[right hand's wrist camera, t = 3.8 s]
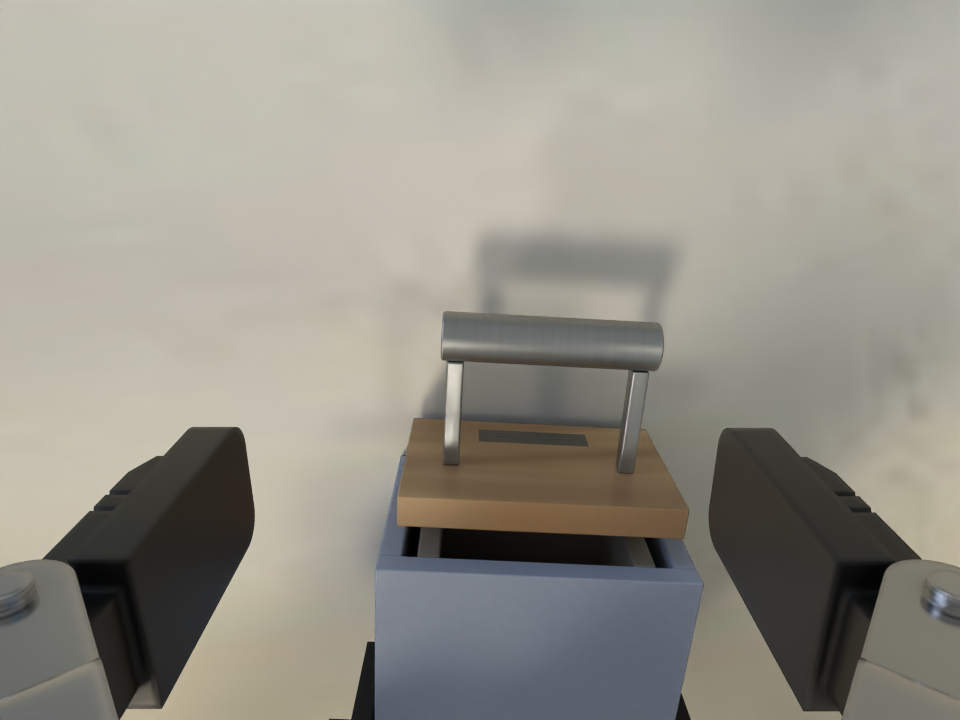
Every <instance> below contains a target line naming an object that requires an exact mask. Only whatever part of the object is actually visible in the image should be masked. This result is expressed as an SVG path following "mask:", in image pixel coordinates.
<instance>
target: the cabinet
mask: <svg viewBox="0 0 960 720" xmlns="http://www.w3.org/2000/svg"><path fill="white" fill-rule="evenodd" d="M405 458H406V456H401V458H400V463H399V467H398V472H397V476H396V481H395V485H394V490H393V494H392V498H391V503H390V507H389V512H388V516H387V521H386V525H385V529H384V534H383V538H382V543H381V547H380V552H379V557H378V560H377V565H376V569H375V720H675V718H676V714H677V709H678V704H679V699H680V695H681V690H682V685H683V680H684V676H685V671H686V666H687V661H688V657H689V652H690V647H691V642H692V638H693V633H694V628H695V623H696V619H697V614H698V609H699V604H700V600H701V595H702V590H703V585H704V584H703V582H702V580H701V578H700V576H699V574H698V572H697V570H696V568H695V566H694V564H693V562H692V560H691V558H690V556H689V554H688V552H687V550H686V547H685V545H684V543H683V541H682V539H670V538H648V537H644V539H645V541H646V544H647V546H648V549H649V551H650V554H651V556H652V559H653V561H654V564H655V567H656V568H648V567H626V566H604V565H581V564H559V563H537V562H514V561H492V560H470V559H448V558H425V557H417V553H418V546H419V539H420V531H421V527H409V526H397V495H398V491H399V486H400V481H401V476H402V472H403V467H404V462H405Z"/></svg>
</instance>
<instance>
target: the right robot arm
mask: <svg viewBox="0 0 960 720" xmlns="http://www.w3.org/2000/svg"><path fill="white" fill-rule="evenodd" d="M254 521H255V510H254V502H253V495H252V487H251V480H250V473H249V466H248V459H247V451H246V444H245V439H244V435H243V433H242V431H241V430H240V429H239V428H238V427H192V428H190V429H188V430H187V431H186V432H185V433H184V435H183V436H182V437H181V438H180V439H179V440H178V441H177V442H176V443H175V444H174V445H173V446H172V447H171V448H170V450H169V451H168V452H167V453H166V454H165V455H164V456H156V457H154V458H153V459H151V460H149V461H147V462H145V463H144V464H142V465H140V466H138V467H137V468H135V469H133V470H131V471H129V472H128V473H127V474H126V475H125V476H124V477H123V478H122V479H121V480H120V481H119V482H118V483H117V484H116V485H115V486H114V487H113V488H112V489H111V490H110V494H109V495H105V496H104V497H103V498H102V499H101V500H100V501H99V502H98V503H97V504H96V505H95V506H94V511H89V512H88V513H87V514H86V515H85V516H84V517H83V518H82V519H81V520H80V521H79V523H78V524H77V525H76V526H75V527H74V528H73V529H72V530H71V531H70V532H69V533H68V534H67V535H66V536H65V537H64V538H63V539H62V540H61V541H60V542H59V543H58V544H57V545H56V546H55V547H54V548H53V549H52V550H51V551H50V552H49V553H48V554H47V555H46V556H45V557H44V558H43V559H42V560H31V561H24V562H19V563H14V564H11V565H7V566H4V567H1V568H0V720H120V718H121V717H122V715H123V713H124V712H125V710H126V709H162V707H163V706H164V704H165V702H166V700H167V698H168V696H169V694H170V692H171V691H172V689H173V687H174V685H175V683H176V681H177V679H178V678H179V676H180V674H181V672H182V670H183V668H184V666H185V665H186V663H187V661H188V659H189V657H190V655H191V653H192V652H193V650H194V648H195V646H196V644H197V642H198V640H199V639H200V637H201V635H202V633H203V631H204V629H205V627H206V625H207V624H208V622H209V620H210V618H211V616H212V614H213V612H214V611H215V609H216V607H217V605H218V603H219V601H220V599H221V598H222V596H223V594H224V592H225V590H226V588H227V586H228V585H229V583H230V581H231V579H232V577H233V575H234V573H235V571H236V570H237V568H238V566H239V564H240V562H241V560H242V558H243V557H244V555H245V553H246V551H247V549H248V547H249V545H250V542H251V539H252V535H253V530H254ZM709 528H710V534H711V539H712V542H713V545H714V547H715V549H716V551H717V553H718V555H719V557H720V559H721V560H722V562H723V564H724V566H725V568H726V570H727V571H728V573H729V575H730V577H731V579H732V581H733V583H734V584H735V586H736V588H737V590H738V592H739V594H740V595H741V597H742V599H743V601H744V603H745V605H746V606H747V608H748V610H749V612H750V614H751V616H752V617H753V619H754V621H755V623H756V625H757V627H758V628H759V630H760V632H761V634H762V636H763V638H764V640H765V641H766V643H767V645H768V647H769V649H770V651H771V652H772V654H773V656H774V658H775V660H776V662H777V663H778V665H779V667H780V669H781V671H782V673H783V674H784V676H785V678H786V680H787V682H788V684H789V685H790V687H791V689H792V691H793V693H794V695H795V697H796V698H797V700H798V702H799V704H800V706H801V708H802V709H803V711H840V713H841V715H842V720H960V568H959V567H956V566H953V565H949V564H946V563H941V562H936V561H929V560H922V559H921V558H920V557H919V556H918V555H917V554H916V553H915V552H914V551H913V550H912V549H911V548H910V547H909V546H908V545H907V544H906V543H905V542H904V541H903V540H902V539H901V538H900V537H899V536H898V535H897V534H896V533H895V532H894V531H893V530H892V529H891V528H890V527H889V526H888V525H887V524H886V523H885V522H884V521H883V520H882V519H881V518H880V517H879V516H878V515H877V514H876V513H872V512H871V508H870V507H869V506H868V505H867V504H866V503H865V502H864V501H863V500H862V499H861V498H860V497H859V496H855V492H854V491H853V490H852V489H851V488H850V487H849V486H848V485H847V484H846V483H845V482H844V481H843V480H842V479H841V478H840V477H839V476H838V475H837V474H836V473H835V472H833V471H831V470H829V469H827V468H826V467H824V466H822V465H820V464H819V463H817V462H815V461H813V460H811V459H810V458H808V457H800V456H799V455H798V454H797V452H796V451H795V450H794V449H793V448H792V447H791V446H790V445H789V444H788V443H787V442H786V441H785V440H784V439H783V438H782V437H781V435H780V434H779V433H778V432H777V431H776V430H774V429H772V428H726V429H724V430H723V432H722V433H721V435H720V439H719V443H718V449H717V457H716V464H715V471H714V478H713V485H712V492H711V499H710V506H709Z"/></svg>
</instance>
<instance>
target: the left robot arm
mask: <svg viewBox="0 0 960 720" xmlns="http://www.w3.org/2000/svg"><path fill="white" fill-rule="evenodd" d="M329 720H347V719H329ZM351 720H375V642H367V647H366V652H365V657H364V661H363V666H362V671H361V676H360V680H359V685H358V690H357V695H356V699H355V704H354V709H353V714H352V718H351ZM675 720H691V719H690V716H689V713H688V711H687V708H686V705H685V702H684V699H683V696H682V694H681V695H680V699H679V704H678V709H677V714H676V718H675Z"/></svg>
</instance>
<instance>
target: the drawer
mask: <svg viewBox="0 0 960 720" xmlns="http://www.w3.org/2000/svg"><path fill="white" fill-rule="evenodd" d="M663 350H664V336H663V330H662V327H661V325H660V324H659V323H653V322H634V321H616V320H597V319H579V318H560V317H541V316H523V315H504V314H486V313H467V312H449V311H445V312H444V313H443V320H442V336H441V359H442V360H446V361H447V369H446V393H445V416H444V420H441V419H421V418H414V420H413V424H412V429H411V434H410V439H409V443H408V448H407V453H406V458H405V462H404V467H403V472H402V476H401V481H400V486H399V491H398V495H397V526H409V527H421V531H420V539H419V546H418V553H417V557H425V558H448V559H470V560H492V561H514V562H537V563H559V564H581V565H604V566H626V567H648V568H656V567H655V564H654V561H653V559H652V556H651V554H650V551H649V549H648V546H647V544H646V541H645V539H644V537H648V538H670V539H684V536H685V530H686V525H687V520H688V515H689V508H688V507H687V505H686V503H685V501H684V499H683V497H682V496H681V494H680V492H679V490H678V488H677V486H676V485H675V483H674V481H673V479H672V477H671V475H670V474H669V472H668V470H667V468H666V466H665V464H664V463H663V461H662V459H661V457H660V455H659V453H658V452H657V450H656V448H655V446H654V444H653V442H652V441H651V439H650V437H649V435H648V433H647V431H646V430H642V429H641V422H642V416H643V409H644V403H645V397H646V390H647V384H648V377H649V372H648V371H656V370H658V368H659V366H660V364H661V361H662V357H663ZM464 361H465V362H484V363H503V364H523V365H542V366H561V367H580V368H600V369H619V370H629V374H628V381H627V388H626V395H625V402H624V408H623V415H622V422H621V428H602V427H582V426H562V425H542V424H522V423H501V422H481V421H461V412H462V392H463V373H464Z"/></svg>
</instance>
